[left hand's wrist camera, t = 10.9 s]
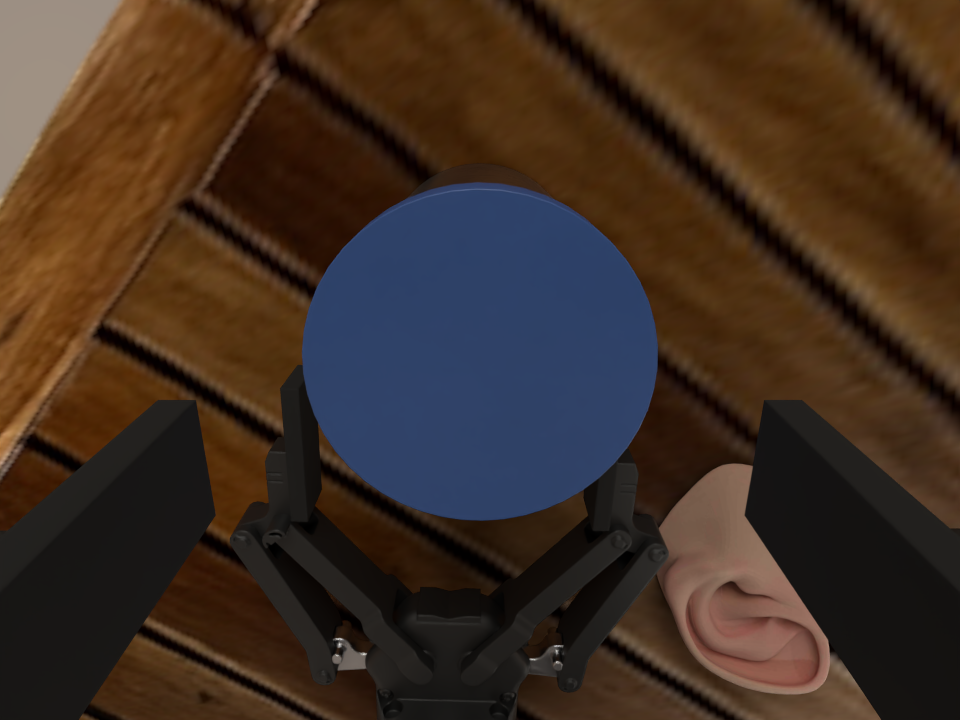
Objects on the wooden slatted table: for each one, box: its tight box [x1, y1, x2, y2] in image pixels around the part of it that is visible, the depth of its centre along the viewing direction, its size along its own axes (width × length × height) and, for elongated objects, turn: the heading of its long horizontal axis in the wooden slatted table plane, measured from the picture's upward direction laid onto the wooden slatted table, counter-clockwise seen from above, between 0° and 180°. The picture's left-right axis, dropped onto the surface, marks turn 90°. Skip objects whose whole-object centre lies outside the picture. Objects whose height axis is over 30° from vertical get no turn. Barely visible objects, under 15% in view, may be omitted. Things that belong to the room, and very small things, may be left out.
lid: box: [302, 182, 658, 521], centre depth 19 cm, size 10×10×2 cm
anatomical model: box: [656, 464, 830, 694], centre depth 37 cm, size 13×4×12 cm
